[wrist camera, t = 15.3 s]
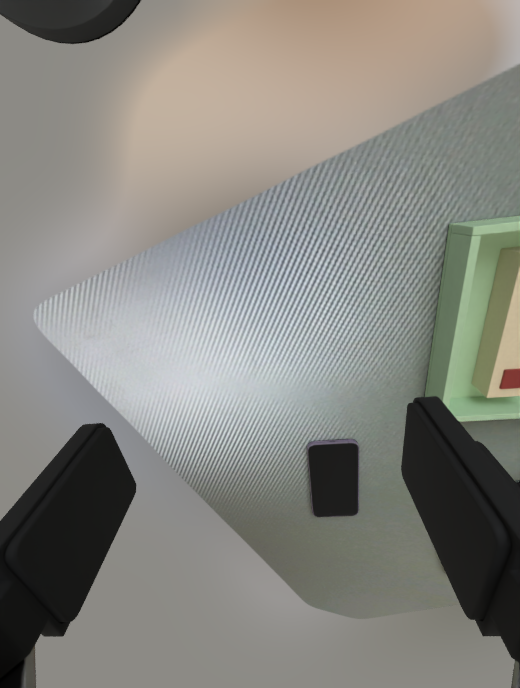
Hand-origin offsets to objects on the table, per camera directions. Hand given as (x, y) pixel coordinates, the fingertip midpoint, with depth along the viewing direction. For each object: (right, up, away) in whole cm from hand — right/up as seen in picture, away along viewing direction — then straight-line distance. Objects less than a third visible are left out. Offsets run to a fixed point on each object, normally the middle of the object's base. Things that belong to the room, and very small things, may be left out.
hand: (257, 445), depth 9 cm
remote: (+27, +6, +23) cm, 36 cm away
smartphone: (+11, -17, +36) cm, 41 cm away
